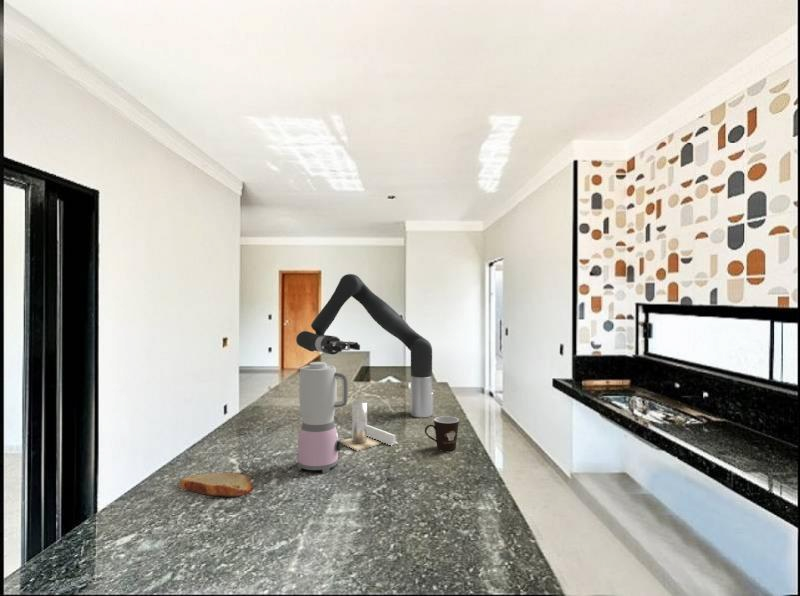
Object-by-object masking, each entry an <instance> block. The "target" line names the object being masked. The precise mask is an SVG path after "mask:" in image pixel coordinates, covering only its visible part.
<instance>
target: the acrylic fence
mask: <svg viewBox="0 0 800 596" xmlns="http://www.w3.org/2000/svg"><path fill="white" fill-rule="evenodd" d="M367 436H368V437H367V438H369V437H371V438H370V439H372V438H373V439H372V440H374V439H376V440H375V441H377V440H379V441H381V442H380V443H382V442H383V443H382V444H384V443H386V444H385V445H387V444H388V445H387V446H389V445H391V446H390V447H393V446H392V445H394V446H396V445H395V444H399V442H398V441H397V439H396V434H393V433H391V432H388V431H385V430H383V429H380V428H377V427H374V426H372V425H369V424H367ZM379 441H378V442H379Z"/></svg>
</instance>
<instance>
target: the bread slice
mask: <svg viewBox="0 0 800 596" xmlns="http://www.w3.org/2000/svg"><path fill="white" fill-rule="evenodd" d="M179 487H180V488H179ZM178 488H179V489H182V488H183V489H182V490H184V489H186V490H189V491H188V492H190V491H194V492H193V493H195V492H198V493H197V494H200V493H201V494H200V495H205V494H206V496H212V497H220V496H221V497H229V498H230V497H231V498H237V497H238V496H239V497H243V495H244V496H247V494H248V495H250V494H251V493H252V492H253V490H254V486H253V484H252V481H251V480H250V478H249V477H248V476H247V475H246V474H242V473H239V472H226V471H225V472H211V473H201V474H200V473H199V474H194V475H190V476H186V477H183V478H182V479H181V480H180V483H179V484H178ZM186 490H185V491H186ZM250 492H251V493H250ZM249 493H250V494H249ZM221 497H220V498H221Z"/></svg>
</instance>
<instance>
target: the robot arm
mask: <svg viewBox="0 0 800 596" xmlns="http://www.w3.org/2000/svg"><path fill="white" fill-rule="evenodd" d="M350 298H353V299H354V300H356V301H358V303H359V304H361V306H362V307H363V308H364V310H366V312H367V313H368V314H369V315H370V317H371V318H372V319H373V321H375V322H376V324H377V325H379V326H380V327H381V328H382V329H384V330H385V331H386V332H387V333H389V334H391V336H394V337H395V338H397V339H398V340H399V341H400V342H402V343H403V344H404V346H406V348H407V349H408V350H409V351H410V415H411V416H412V417H415V418H428V417H432V416H433V415H434V392H433V347H432V344H431V342H430V341H429V340H428V339H427V338H424V337H423V336H422V335H420V334H419V333H417V332H416V331H415V330H414V329H413V328H412V327H411V326H410V325H409V324H408V322H407V321H405V319H403V317H402V316H401V315H400V314H399V313H398V312H397V311H396V310H395V309H394V308H393V307H391V305H389V304H388V303H387V302H386V301H384V300H383V299H382V298H380V297H379V296H378V295H376V294H375V293H374V292H373V291H372V290H371V289H370V288H369V287H368V286H367V285H366V284H365V282H363V280H362V279H361V278H360V277H359V276H358V275H357V274H354V273H353V274H352V273H347V274H345V275H343V276H342V277H341V278H340V279H339V282H338V284H337V286H336V287H335V290H334V292H333V294H332V295H331V296H330V298H329V299H328V301H327V303H326V304H325V305H324V307H323V308H322V309H321V310H320V312H318V314H317V316H315V318H314V319H313V321H312V322H311V325H310V326H311V329H312V330H313V331H314V332H315V333H314V332H310V331H307V330H304V331H300V332H299V333H297V336H296V338H295V340H296V342H295V343H296V344H297V345H298V346H299V347H301V348H303V349H304V350H307V351H309V352H319V353H323V354H327V355H337V354H338V353H339V352H342V351H350V350H356V351H359V350H360V349H361V345H360V344H359V342H357V341H356V342H355V341H350V340H349V341H344V340H341V339H340V338H339V337H338V336H335V335H328V334H325V333H326V332H327V330H328V329H329V327H330V326H331V325H332V323H333V322H334V320H335V319H336V317H337V316H338V314H339V312H340V310H341V309H342V307H343V306H344V304H345V303H346V302H347V301H348V300H349V299H350ZM411 416H410V417H411Z"/></svg>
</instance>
